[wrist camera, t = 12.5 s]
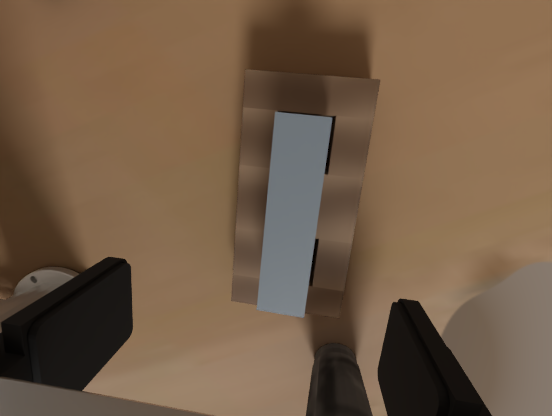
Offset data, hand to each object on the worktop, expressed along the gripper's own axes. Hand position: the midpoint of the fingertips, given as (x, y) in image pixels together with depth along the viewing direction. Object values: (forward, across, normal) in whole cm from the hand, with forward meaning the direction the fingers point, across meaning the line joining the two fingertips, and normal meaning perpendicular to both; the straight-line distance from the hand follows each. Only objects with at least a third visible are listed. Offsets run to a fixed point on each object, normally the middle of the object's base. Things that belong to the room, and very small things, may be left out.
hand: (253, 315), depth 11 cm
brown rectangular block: (+19, -1, 0) cm, 19 cm away
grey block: (+19, -1, 0) cm, 19 cm away
